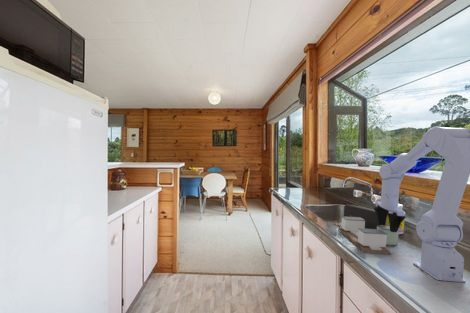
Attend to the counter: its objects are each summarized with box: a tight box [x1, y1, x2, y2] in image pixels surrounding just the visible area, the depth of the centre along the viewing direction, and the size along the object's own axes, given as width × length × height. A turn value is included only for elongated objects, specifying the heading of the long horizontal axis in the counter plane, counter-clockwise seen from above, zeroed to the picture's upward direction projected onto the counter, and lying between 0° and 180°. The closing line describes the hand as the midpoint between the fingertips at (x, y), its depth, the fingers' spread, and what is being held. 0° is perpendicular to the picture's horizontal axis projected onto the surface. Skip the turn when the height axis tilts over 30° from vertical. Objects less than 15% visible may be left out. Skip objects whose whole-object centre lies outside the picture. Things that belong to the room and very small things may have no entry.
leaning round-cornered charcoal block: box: [343, 204, 381, 229], centre depth 107 cm, size 16×5×9 cm, turn 39°
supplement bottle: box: [385, 203, 406, 235], centre depth 102 cm, size 7×7×13 cm
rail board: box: [338, 226, 391, 255], centre depth 90 cm, size 22×9×2 cm, turn 177°
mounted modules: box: [341, 215, 387, 248], centre depth 90 cm, size 19×8×5 cm, turn 177°
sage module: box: [377, 225, 399, 246], centre depth 90 cm, size 4×6×6 cm, turn 86°
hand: (387, 228), depth 90 cm, fingers open, 7 cm apart
